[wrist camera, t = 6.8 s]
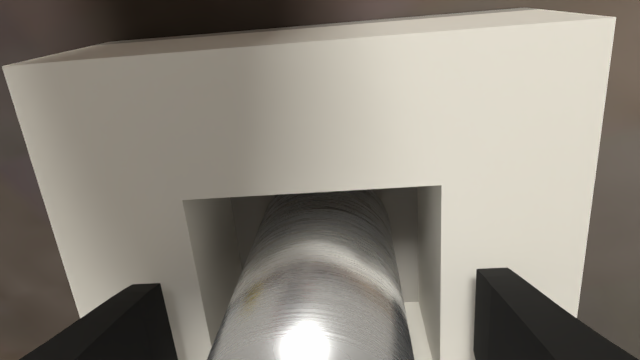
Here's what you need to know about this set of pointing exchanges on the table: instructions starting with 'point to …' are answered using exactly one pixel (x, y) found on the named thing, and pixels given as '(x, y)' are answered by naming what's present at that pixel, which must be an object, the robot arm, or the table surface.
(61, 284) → the table surface
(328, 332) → the steel pin
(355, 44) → the socket block
